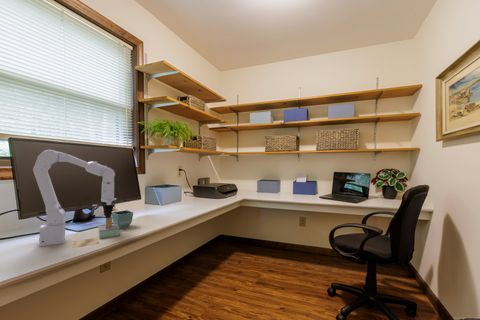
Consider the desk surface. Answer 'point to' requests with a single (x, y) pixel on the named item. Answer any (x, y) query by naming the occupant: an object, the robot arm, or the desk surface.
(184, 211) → the desk surface
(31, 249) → the desk surface
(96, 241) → the mat
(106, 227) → the lid
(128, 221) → the flower pot
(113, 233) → the dish
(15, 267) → the desk surface
